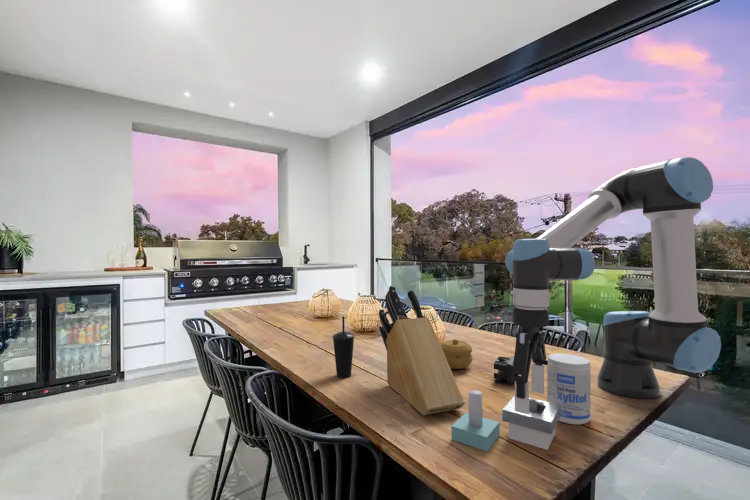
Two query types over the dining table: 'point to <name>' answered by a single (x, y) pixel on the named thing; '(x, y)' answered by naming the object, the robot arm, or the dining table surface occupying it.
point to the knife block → (417, 359)
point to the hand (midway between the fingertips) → (530, 401)
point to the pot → (457, 353)
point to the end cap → (503, 370)
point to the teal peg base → (475, 425)
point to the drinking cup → (343, 352)
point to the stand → (530, 432)
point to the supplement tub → (569, 386)
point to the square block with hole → (534, 416)
